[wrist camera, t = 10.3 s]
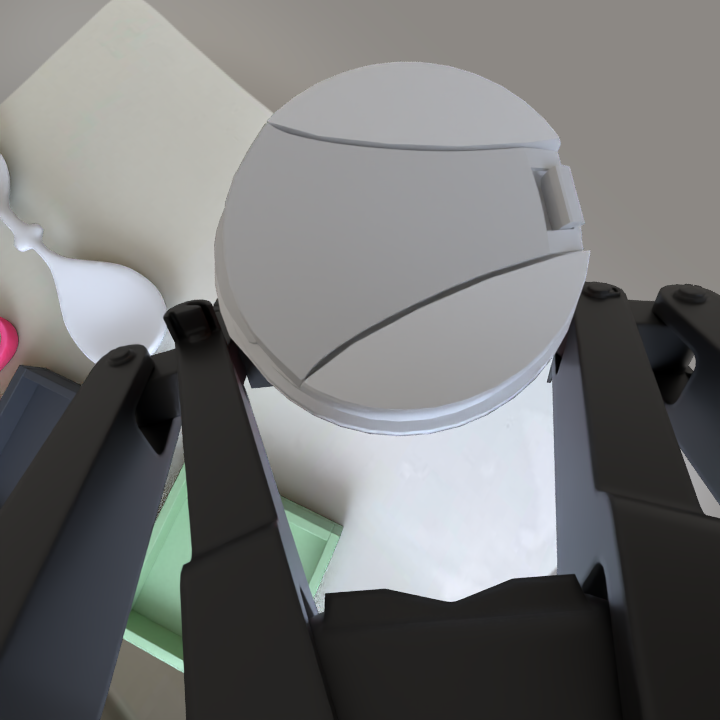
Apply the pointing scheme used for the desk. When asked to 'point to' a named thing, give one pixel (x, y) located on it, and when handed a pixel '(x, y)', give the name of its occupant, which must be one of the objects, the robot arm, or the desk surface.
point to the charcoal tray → (29, 419)
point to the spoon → (93, 292)
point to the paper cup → (401, 248)
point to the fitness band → (7, 342)
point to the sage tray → (173, 549)
